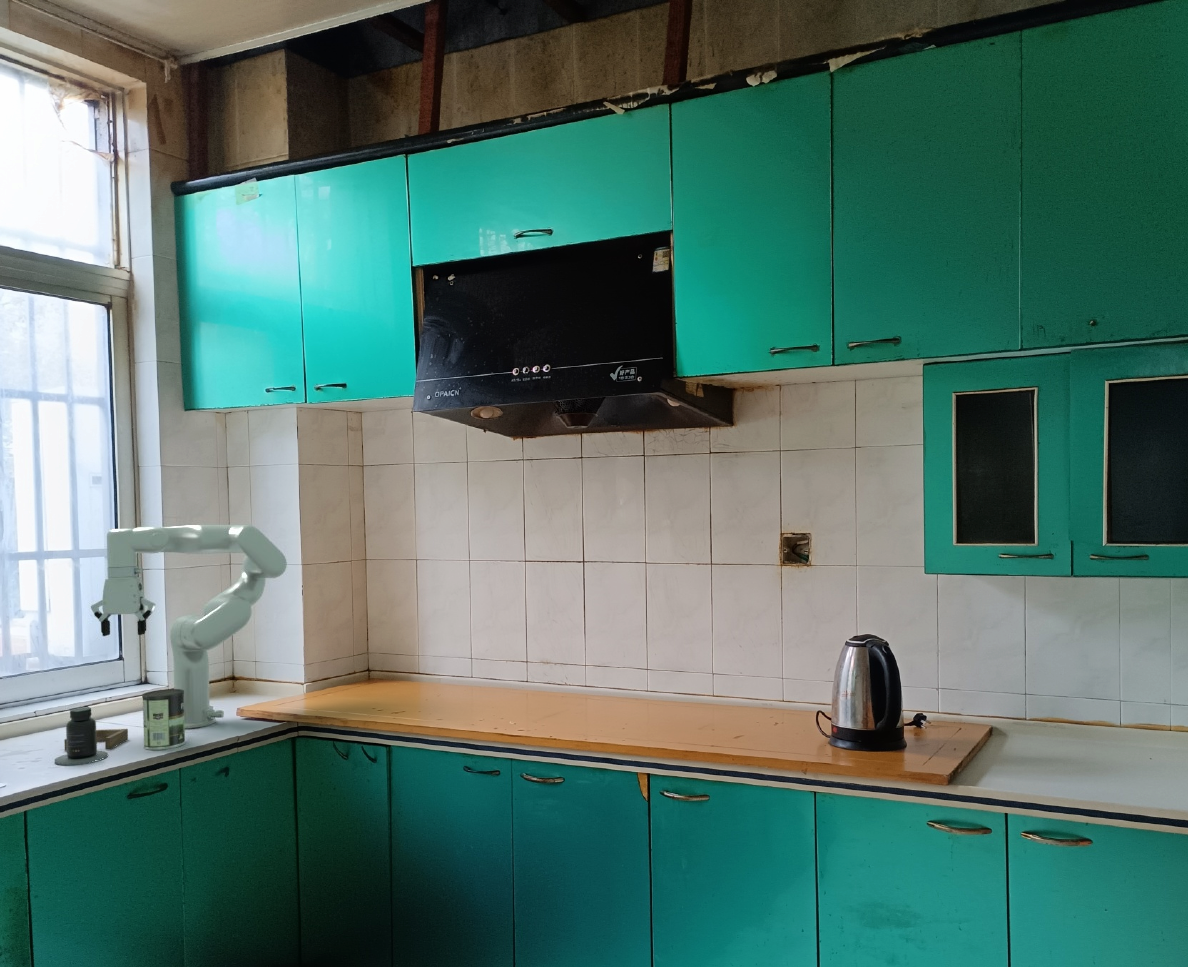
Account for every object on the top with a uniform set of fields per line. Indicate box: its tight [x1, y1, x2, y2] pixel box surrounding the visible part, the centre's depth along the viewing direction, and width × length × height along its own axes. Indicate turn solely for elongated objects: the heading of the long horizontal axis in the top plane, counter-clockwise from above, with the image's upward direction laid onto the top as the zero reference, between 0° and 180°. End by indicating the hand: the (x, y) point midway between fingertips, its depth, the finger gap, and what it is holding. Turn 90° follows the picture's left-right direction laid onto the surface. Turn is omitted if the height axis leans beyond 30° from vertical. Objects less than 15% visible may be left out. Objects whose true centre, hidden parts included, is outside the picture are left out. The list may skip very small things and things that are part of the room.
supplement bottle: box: [65, 706, 98, 759], centre depth 254 cm, size 7×7×12 cm
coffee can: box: [141, 688, 186, 751], centre depth 266 cm, size 10×10×14 cm
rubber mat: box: [54, 750, 109, 766], centre depth 253 cm, size 12×12×1 cm
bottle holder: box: [63, 728, 129, 752], centre depth 268 cm, size 12×11×3 cm
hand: (123, 635), depth 277 cm, fingers open, 9 cm apart
